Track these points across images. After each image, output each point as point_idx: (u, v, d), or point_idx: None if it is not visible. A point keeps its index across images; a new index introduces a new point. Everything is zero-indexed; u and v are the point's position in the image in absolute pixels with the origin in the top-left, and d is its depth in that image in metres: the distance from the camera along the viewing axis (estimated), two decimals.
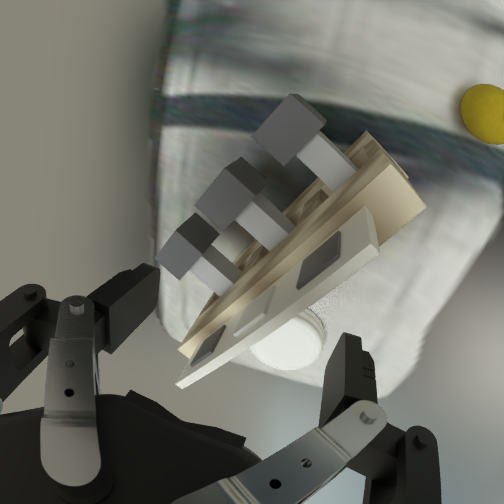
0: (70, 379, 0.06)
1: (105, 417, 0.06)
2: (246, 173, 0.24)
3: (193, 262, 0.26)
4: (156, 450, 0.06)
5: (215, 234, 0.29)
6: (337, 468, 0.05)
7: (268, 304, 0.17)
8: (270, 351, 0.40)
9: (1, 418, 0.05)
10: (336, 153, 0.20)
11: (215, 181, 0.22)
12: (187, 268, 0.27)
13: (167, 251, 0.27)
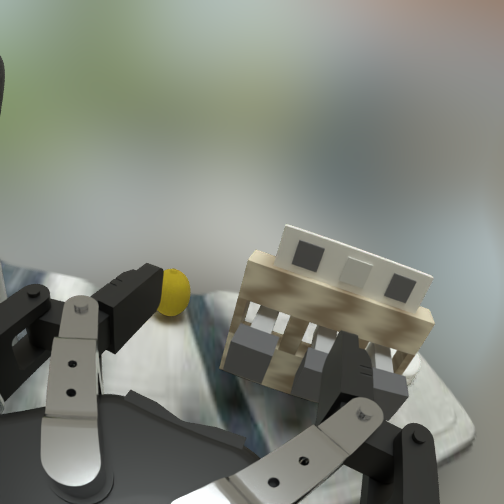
0: (72, 379, 0.06)
1: (105, 417, 0.06)
2: (299, 371, 0.29)
3: (383, 370, 0.28)
4: (156, 450, 0.06)
5: None
6: (335, 465, 0.05)
7: (345, 264, 0.30)
8: None
9: (1, 418, 0.05)
10: (253, 322, 0.32)
11: (317, 370, 0.26)
12: (391, 373, 0.28)
13: (394, 389, 0.26)
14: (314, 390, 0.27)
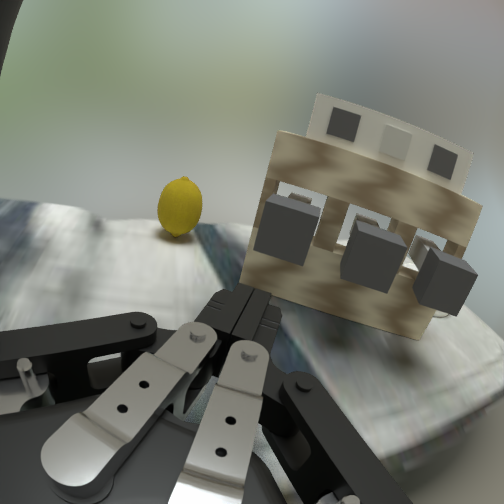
0: (133, 398, 0.06)
1: None
2: (348, 249, 0.24)
3: None
4: (156, 450, 0.06)
5: (415, 283, 0.25)
6: (258, 412, 0.07)
7: (383, 132, 0.25)
8: None
9: (1, 418, 0.05)
10: None
11: (374, 235, 0.22)
12: (451, 255, 0.23)
13: (461, 266, 0.21)
14: (371, 269, 0.22)
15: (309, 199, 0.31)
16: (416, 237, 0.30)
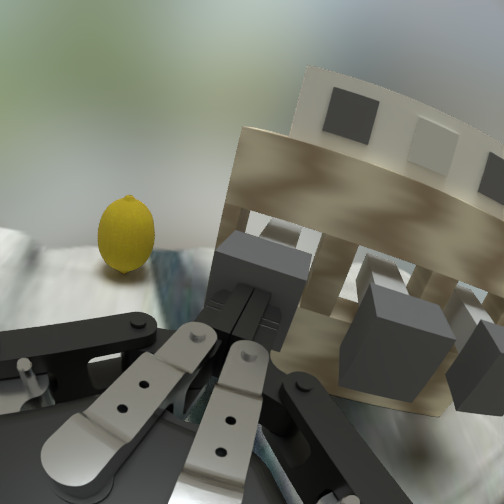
0: (133, 398, 0.06)
1: None
2: (355, 336, 0.13)
3: (496, 325, 0.13)
4: (156, 450, 0.06)
5: (450, 370, 0.14)
6: (258, 412, 0.07)
7: (415, 130, 0.15)
8: None
9: (1, 418, 0.05)
10: None
11: (404, 323, 0.11)
12: None
13: None
14: (391, 373, 0.12)
15: (298, 228, 0.21)
16: None
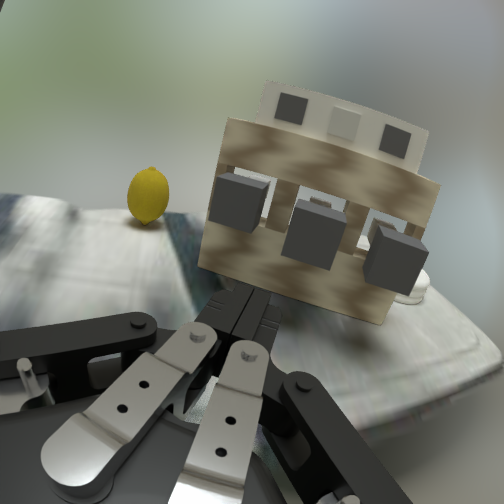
0: (133, 398, 0.06)
1: None
2: None
3: (392, 230, 0.24)
4: (156, 450, 0.06)
5: (364, 262, 0.26)
6: (258, 412, 0.07)
7: (331, 114, 0.26)
8: None
9: (1, 418, 0.05)
10: None
11: (311, 211, 0.23)
12: (402, 234, 0.24)
13: (409, 243, 0.22)
14: (310, 245, 0.23)
15: (267, 180, 0.34)
16: (373, 219, 0.31)
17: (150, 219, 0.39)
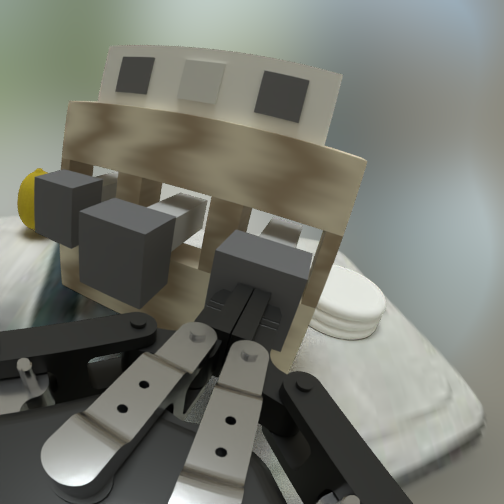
0: (133, 398, 0.06)
1: None
2: None
3: (259, 237, 0.16)
4: (156, 450, 0.06)
5: None
6: (258, 412, 0.07)
7: (183, 71, 0.17)
8: (362, 293, 0.31)
9: (1, 418, 0.05)
10: None
11: (99, 217, 0.13)
12: (278, 244, 0.15)
13: (271, 262, 0.13)
14: (106, 269, 0.14)
15: None
16: (271, 220, 0.22)
17: None
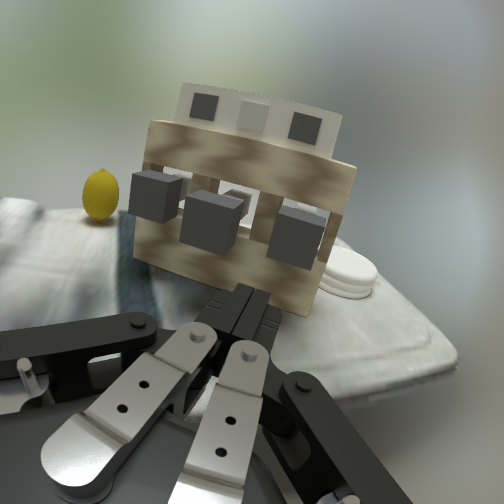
0: (133, 398, 0.06)
1: None
2: None
3: (296, 209, 0.28)
4: (156, 450, 0.06)
5: None
6: (258, 412, 0.07)
7: (240, 108, 0.28)
8: (359, 265, 0.41)
9: (1, 418, 0.05)
10: None
11: (201, 199, 0.24)
12: (307, 213, 0.28)
13: (305, 219, 0.26)
14: (203, 231, 0.25)
15: None
16: (297, 204, 0.34)
17: (101, 216, 0.41)
